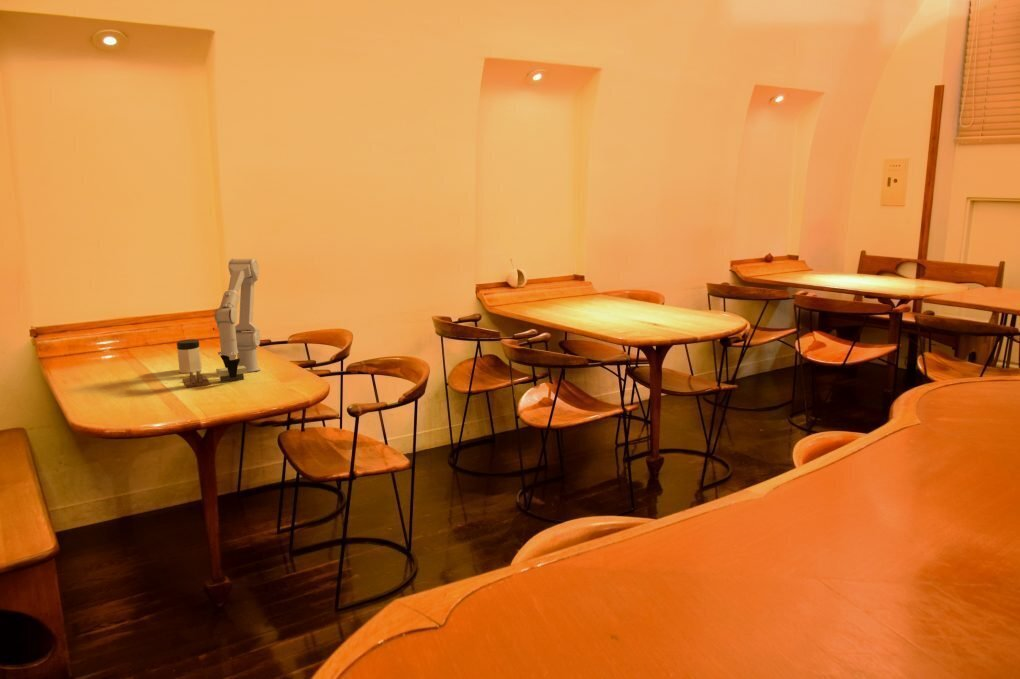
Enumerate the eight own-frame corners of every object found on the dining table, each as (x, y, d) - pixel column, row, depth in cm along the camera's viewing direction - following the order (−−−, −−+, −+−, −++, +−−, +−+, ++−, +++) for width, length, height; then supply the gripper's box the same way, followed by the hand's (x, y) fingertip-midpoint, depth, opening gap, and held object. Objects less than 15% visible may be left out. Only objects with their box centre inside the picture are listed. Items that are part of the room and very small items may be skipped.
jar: (201, 372, 290) (198, 342, 287) (179, 374, 287) (175, 344, 285) (202, 367, 298) (199, 338, 296) (180, 369, 295) (177, 340, 293)
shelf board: (218, 376, 272) (217, 371, 271) (216, 374, 276) (216, 369, 275) (246, 373, 276) (245, 368, 276) (244, 370, 280) (243, 365, 280)
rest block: (220, 380, 276) (219, 374, 275) (242, 377, 280) (242, 371, 279) (221, 382, 273) (220, 376, 273) (243, 379, 277) (243, 373, 277)
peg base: (183, 379, 279) (182, 370, 278) (205, 376, 282) (204, 368, 282) (186, 387, 267) (185, 378, 266) (210, 384, 270) (209, 375, 270)
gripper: (214, 337, 278) (217, 372, 281) (219, 344, 265) (223, 380, 268) (233, 335, 281) (237, 370, 284) (239, 342, 269) (243, 378, 271)
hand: (231, 375), depth 276 cm, fingers open, 7 cm apart
